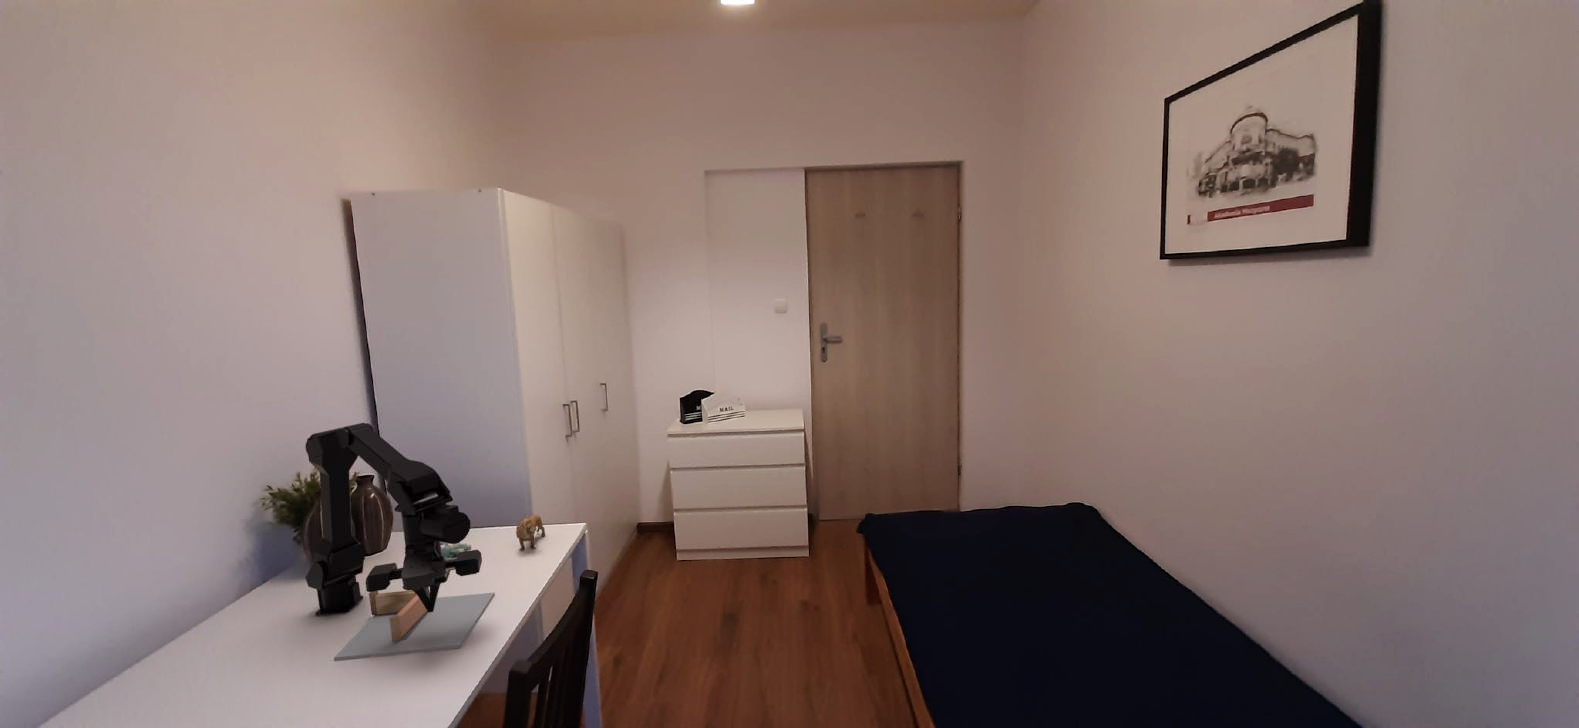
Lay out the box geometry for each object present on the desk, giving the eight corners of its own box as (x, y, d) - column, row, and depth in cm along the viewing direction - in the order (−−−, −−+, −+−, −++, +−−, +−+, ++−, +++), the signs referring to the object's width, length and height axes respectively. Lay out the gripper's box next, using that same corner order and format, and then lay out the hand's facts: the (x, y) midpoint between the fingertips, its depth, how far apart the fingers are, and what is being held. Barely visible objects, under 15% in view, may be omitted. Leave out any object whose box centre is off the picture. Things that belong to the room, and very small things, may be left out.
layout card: (334, 660, 117) (333, 657, 117) (387, 604, 136) (387, 601, 136) (460, 647, 119) (459, 644, 119) (494, 595, 139) (494, 592, 139)
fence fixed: (370, 615, 130) (367, 595, 130) (374, 611, 132) (371, 591, 131) (419, 610, 132) (416, 590, 131) (422, 606, 133) (420, 586, 132)
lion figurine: (538, 555, 159) (534, 520, 157) (515, 557, 157) (512, 523, 156) (547, 532, 173) (544, 500, 171) (526, 534, 172) (523, 502, 170)
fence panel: (424, 606, 133) (421, 586, 132) (432, 606, 133) (429, 586, 133) (390, 642, 120) (387, 620, 120) (399, 641, 121) (396, 619, 120)
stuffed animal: (483, 533, 160) (437, 543, 149) (481, 562, 159) (435, 574, 149) (456, 526, 165) (410, 535, 154) (454, 554, 164) (408, 565, 154)
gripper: (351, 561, 109) (363, 645, 112) (471, 542, 116) (480, 622, 118) (369, 536, 120) (379, 613, 122) (478, 520, 126) (486, 594, 128)
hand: (431, 611), depth 122 cm, fingers closed
